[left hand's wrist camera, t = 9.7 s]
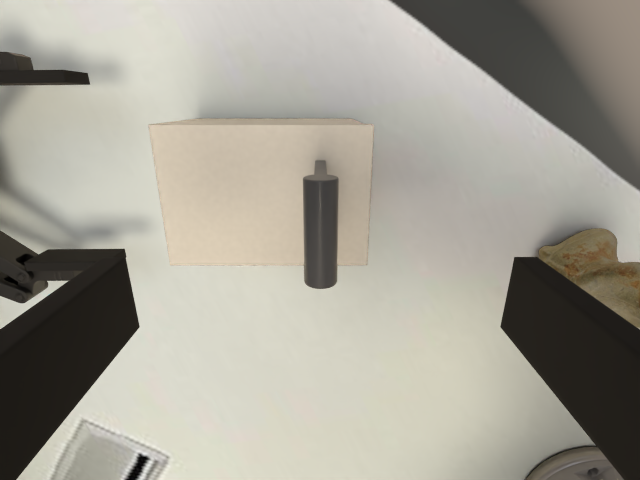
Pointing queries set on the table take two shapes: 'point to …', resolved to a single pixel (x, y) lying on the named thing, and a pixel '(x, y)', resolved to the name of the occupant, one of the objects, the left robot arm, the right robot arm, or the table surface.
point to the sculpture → (598, 270)
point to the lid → (266, 194)
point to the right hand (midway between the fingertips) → (99, 176)
